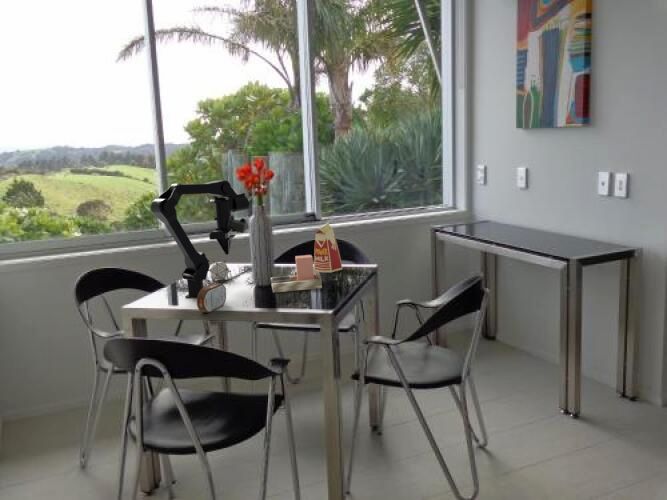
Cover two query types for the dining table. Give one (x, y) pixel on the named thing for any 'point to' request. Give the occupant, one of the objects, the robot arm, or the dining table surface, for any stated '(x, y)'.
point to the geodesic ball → (219, 270)
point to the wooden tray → (295, 283)
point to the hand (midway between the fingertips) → (227, 254)
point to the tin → (211, 297)
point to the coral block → (304, 267)
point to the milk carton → (326, 251)
